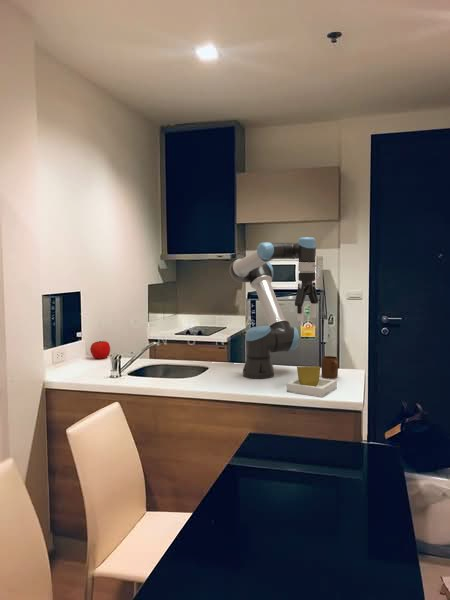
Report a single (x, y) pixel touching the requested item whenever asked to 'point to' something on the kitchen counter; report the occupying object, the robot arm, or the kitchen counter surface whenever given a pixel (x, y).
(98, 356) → the tomato
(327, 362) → the mug
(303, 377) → the flower pot
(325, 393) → the white square tray
